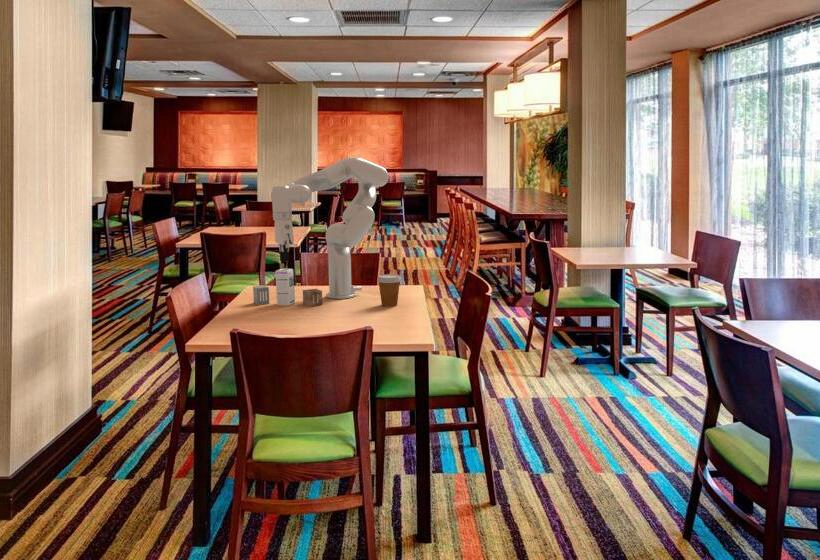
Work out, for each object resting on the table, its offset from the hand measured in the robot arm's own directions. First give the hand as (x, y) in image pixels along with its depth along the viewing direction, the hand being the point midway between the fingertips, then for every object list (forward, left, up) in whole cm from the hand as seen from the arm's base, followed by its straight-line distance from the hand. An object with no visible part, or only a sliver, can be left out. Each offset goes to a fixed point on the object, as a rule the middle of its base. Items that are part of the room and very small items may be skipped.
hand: (284, 261), depth 295 cm
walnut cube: (-9, +7, -18) cm, 21 cm away
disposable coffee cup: (-35, +25, -18) cm, 47 cm away
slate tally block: (+8, -7, -18) cm, 21 cm away
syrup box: (0, 0, -18) cm, 18 cm away
